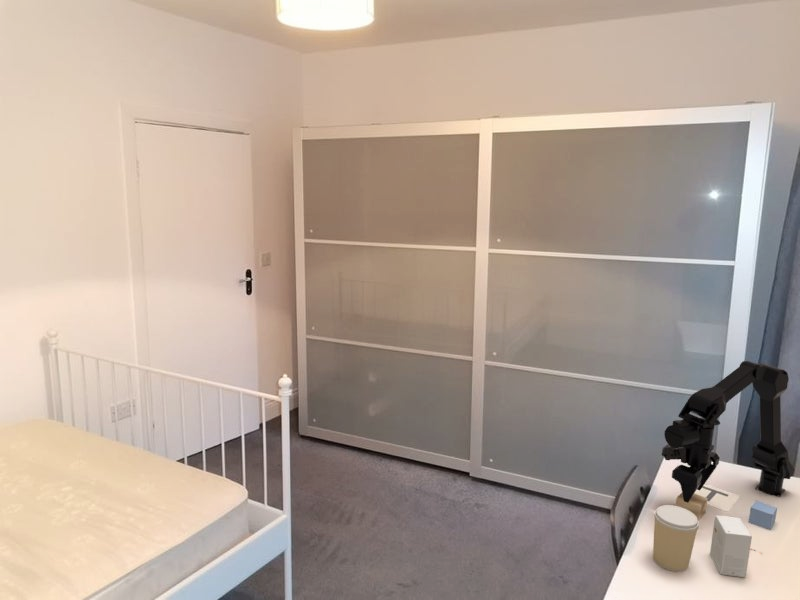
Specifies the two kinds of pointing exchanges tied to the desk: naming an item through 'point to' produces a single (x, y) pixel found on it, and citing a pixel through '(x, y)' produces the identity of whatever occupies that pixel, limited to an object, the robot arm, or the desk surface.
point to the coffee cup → (674, 537)
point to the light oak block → (693, 504)
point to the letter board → (717, 497)
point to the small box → (730, 546)
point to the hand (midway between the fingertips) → (692, 495)
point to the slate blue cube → (762, 515)
